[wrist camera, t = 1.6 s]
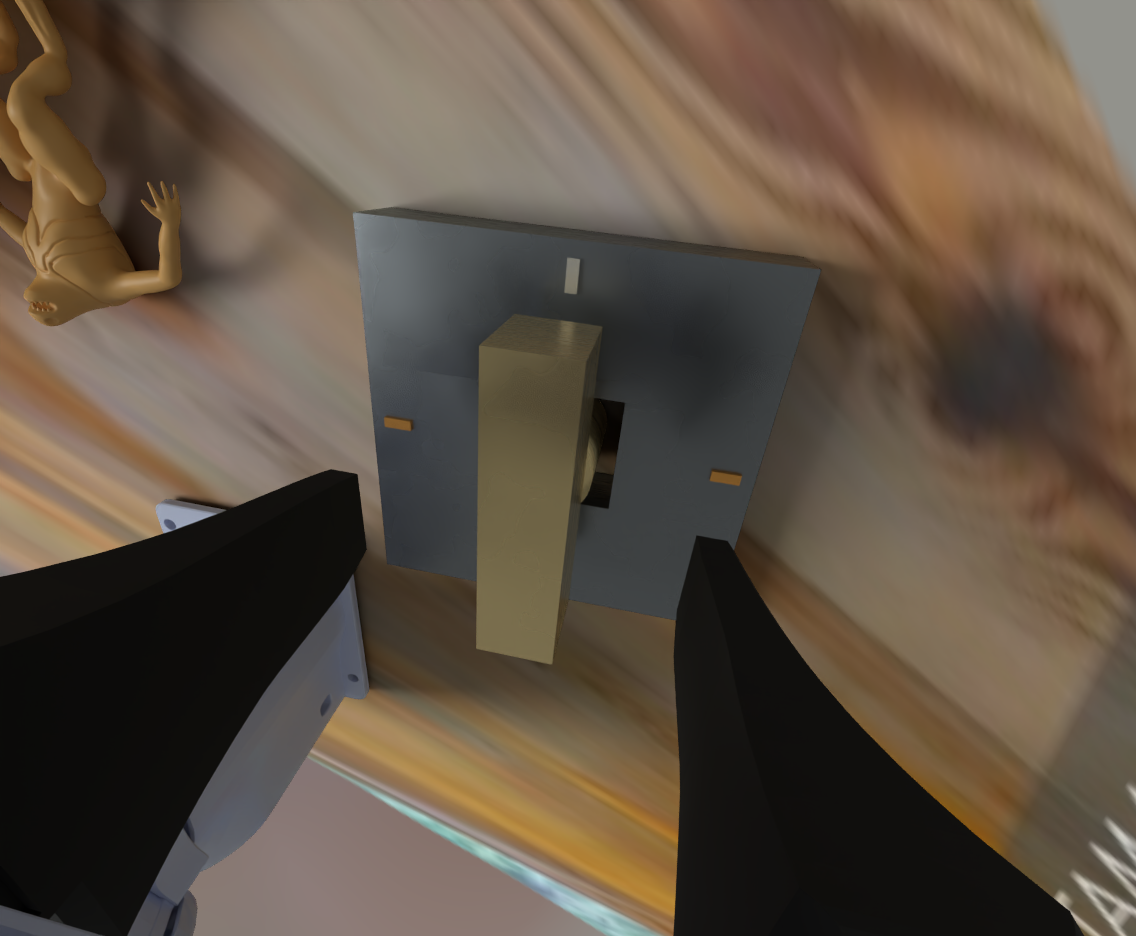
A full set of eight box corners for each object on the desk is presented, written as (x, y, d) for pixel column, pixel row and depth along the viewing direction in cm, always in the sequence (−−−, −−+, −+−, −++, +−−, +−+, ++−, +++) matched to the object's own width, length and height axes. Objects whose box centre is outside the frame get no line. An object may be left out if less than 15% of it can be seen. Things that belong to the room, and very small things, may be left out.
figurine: (16, -377, 8) (17, 391, 12) (293, -86, 14) (234, 368, 17) (-414, -488, 9) (-284, 266, 12) (18, -168, 14) (19, 283, 18)
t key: (592, 529, 19) (559, 666, 14) (525, 517, 19) (468, 647, 14) (625, 295, 15) (597, 363, 10) (540, 283, 15) (468, 343, 10)
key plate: (707, 585, 19) (710, 629, 17) (411, 530, 20) (385, 565, 18) (802, 257, 14) (822, 270, 12) (390, 207, 15) (351, 212, 13)
